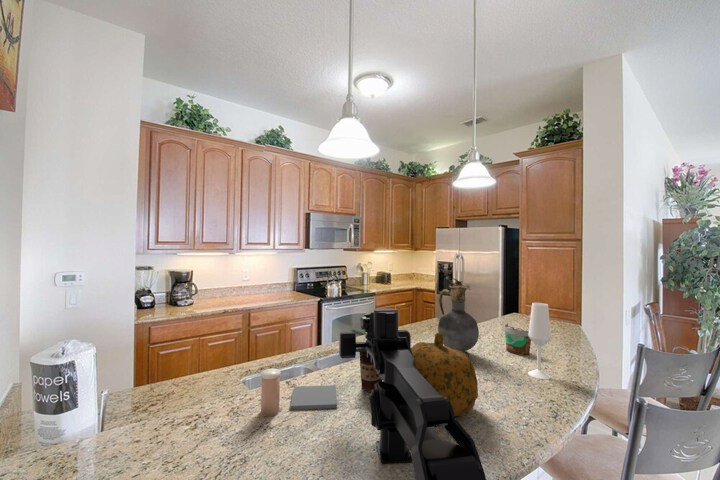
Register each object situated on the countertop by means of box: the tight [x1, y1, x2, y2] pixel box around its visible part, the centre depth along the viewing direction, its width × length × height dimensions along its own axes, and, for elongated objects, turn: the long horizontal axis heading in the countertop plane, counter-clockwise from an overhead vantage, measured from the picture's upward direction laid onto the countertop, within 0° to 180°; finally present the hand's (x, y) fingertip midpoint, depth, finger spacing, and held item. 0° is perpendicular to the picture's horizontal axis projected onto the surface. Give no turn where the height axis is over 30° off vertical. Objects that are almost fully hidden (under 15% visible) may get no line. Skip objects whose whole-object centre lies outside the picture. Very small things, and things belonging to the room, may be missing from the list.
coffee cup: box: [359, 347, 383, 393], centre depth 94 cm, size 9×8×13 cm
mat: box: [289, 384, 338, 411], centre depth 87 cm, size 11×12×1 cm
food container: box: [503, 323, 532, 356], centre depth 129 cm, size 12×6×10 cm, turn 25°
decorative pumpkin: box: [411, 332, 479, 417], centre depth 84 cm, size 20×21×20 cm
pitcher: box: [437, 277, 480, 356], centre depth 127 cm, size 11×19×30 cm, turn 26°
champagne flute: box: [527, 302, 552, 380], centre depth 107 cm, size 7×7×24 cm
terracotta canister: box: [260, 368, 282, 417], centre depth 80 cm, size 5×5×10 cm
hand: (368, 336), depth 90 cm, fingers open, 9 cm apart
